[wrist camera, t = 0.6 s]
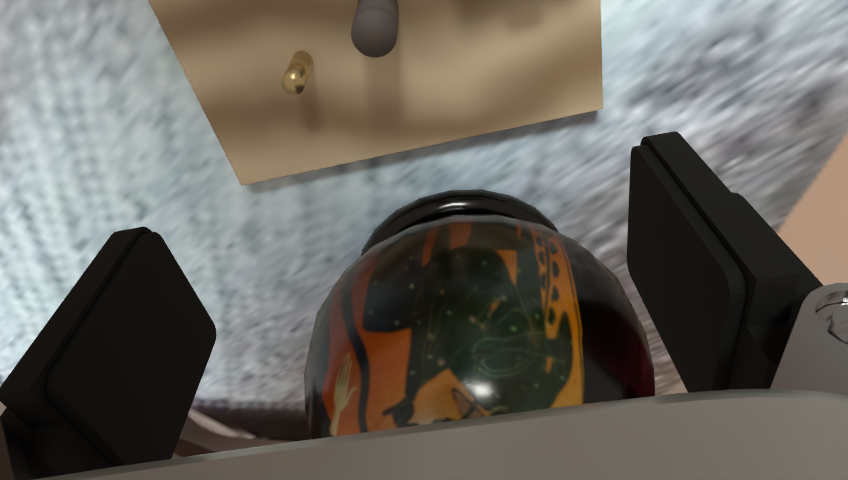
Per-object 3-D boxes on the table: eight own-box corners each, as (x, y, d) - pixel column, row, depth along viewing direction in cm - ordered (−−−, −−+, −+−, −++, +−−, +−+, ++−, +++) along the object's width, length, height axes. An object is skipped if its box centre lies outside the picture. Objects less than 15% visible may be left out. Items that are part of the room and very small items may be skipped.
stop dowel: (288, 53, 32) (277, 76, 29) (308, 48, 31) (299, 71, 29) (296, 73, 32) (286, 97, 30) (315, 68, 32) (307, 92, 29)
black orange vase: (500, 86, 34) (672, 573, 12) (644, 283, 45) (876, 734, 23) (266, 255, 42) (112, 740, 20) (436, 389, 53) (458, 803, 31)
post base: (82, -155, 26) (9, -149, 22) (585, -304, 24) (632, -336, 19) (245, 176, 38) (221, 229, 33) (597, 101, 35) (628, 147, 30)
